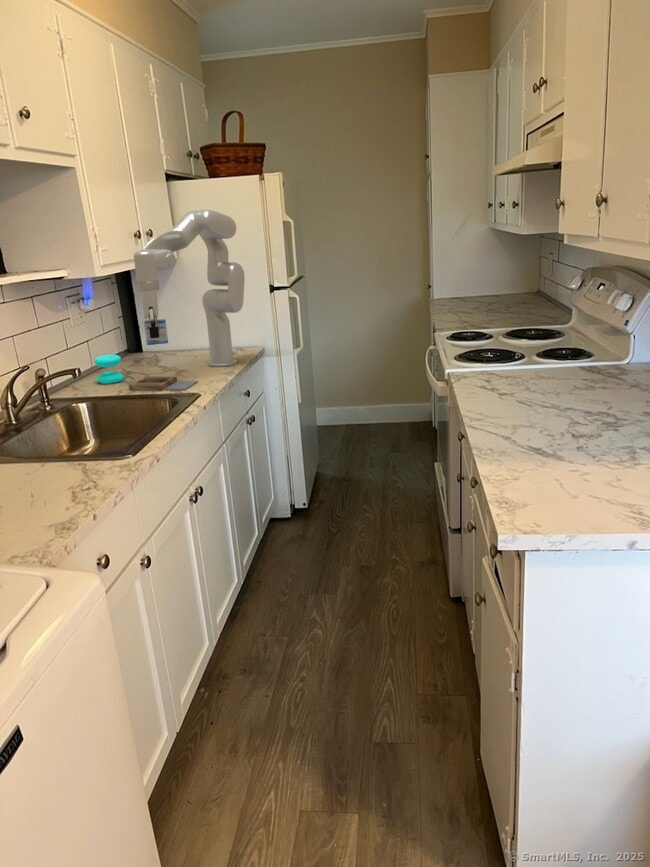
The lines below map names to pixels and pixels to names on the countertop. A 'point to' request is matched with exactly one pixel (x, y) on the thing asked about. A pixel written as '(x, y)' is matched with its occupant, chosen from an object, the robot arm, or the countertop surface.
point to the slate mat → (181, 385)
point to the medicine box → (162, 333)
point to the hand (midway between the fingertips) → (155, 336)
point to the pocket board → (152, 383)
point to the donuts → (111, 375)
